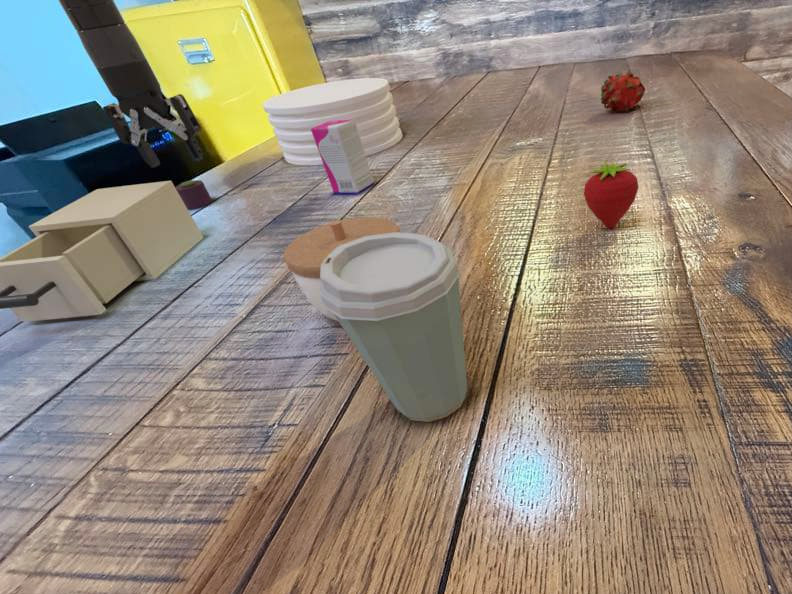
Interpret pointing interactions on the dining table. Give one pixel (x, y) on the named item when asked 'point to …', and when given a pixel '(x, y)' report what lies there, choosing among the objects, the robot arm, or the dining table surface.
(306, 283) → the lidded bowl
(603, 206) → the strawberry
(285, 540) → the dining table surface
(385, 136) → the plate stack
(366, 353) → the disposable coffee cup
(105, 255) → the drawer
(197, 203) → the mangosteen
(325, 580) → the dining table surface
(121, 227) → the cabinet
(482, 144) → the dining table surface
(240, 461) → the dining table surface
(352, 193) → the supplement box
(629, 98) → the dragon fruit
